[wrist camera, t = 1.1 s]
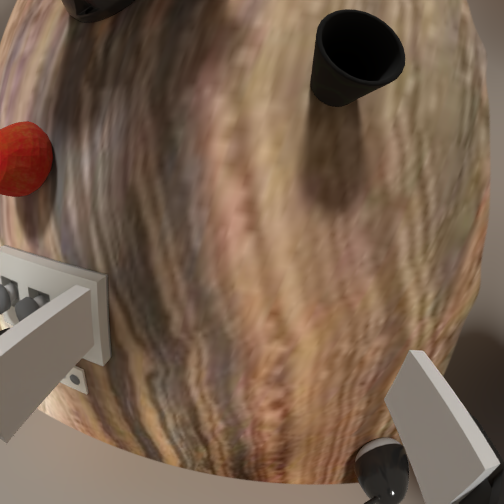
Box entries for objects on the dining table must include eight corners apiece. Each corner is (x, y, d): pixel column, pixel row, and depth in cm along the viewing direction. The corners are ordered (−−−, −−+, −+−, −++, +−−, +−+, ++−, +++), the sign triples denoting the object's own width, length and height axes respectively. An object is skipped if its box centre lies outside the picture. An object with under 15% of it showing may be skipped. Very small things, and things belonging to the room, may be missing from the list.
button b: (32, 287, 35) (13, 297, 31) (51, 294, 35) (31, 306, 31) (35, 312, 37) (17, 324, 32) (54, 320, 37) (36, 334, 32)
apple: (46, 110, 31) (-3, 101, 20) (70, 164, 33) (17, 165, 22) (10, 156, 33) (-36, 158, 22) (31, 208, 35) (-18, 220, 24)
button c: (4, 275, 36) (-14, 284, 31) (19, 282, 36) (0, 291, 31) (7, 299, 37) (-10, 309, 32) (22, 306, 37) (5, 317, 32)
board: (5, 244, 37) (-6, 249, 34) (107, 274, 36) (97, 281, 33) (14, 314, 40) (4, 321, 37) (111, 356, 40) (103, 366, 37)
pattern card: (40, 349, 41) (37, 351, 41) (83, 369, 41) (81, 372, 40) (46, 372, 43) (43, 375, 42) (88, 392, 43) (86, 395, 42)
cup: (350, 126, 30) (390, 102, 18) (291, 96, 29) (301, 56, 18) (372, 76, 28) (414, 38, 16) (316, 48, 28) (335, -4, 16)
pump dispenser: (361, 431, 41) (379, 497, 26) (408, 428, 41) (432, 486, 26) (342, 461, 44) (352, 521, 29) (386, 458, 44) (403, 512, 29)
